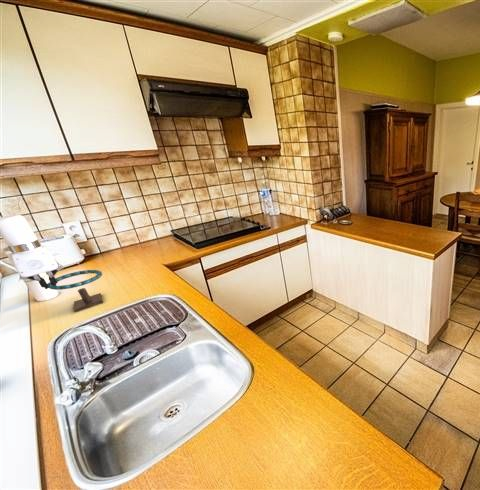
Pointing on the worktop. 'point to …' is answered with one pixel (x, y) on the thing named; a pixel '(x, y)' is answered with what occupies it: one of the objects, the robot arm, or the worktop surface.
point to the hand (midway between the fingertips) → (50, 286)
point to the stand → (87, 300)
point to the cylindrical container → (38, 286)
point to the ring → (75, 283)
